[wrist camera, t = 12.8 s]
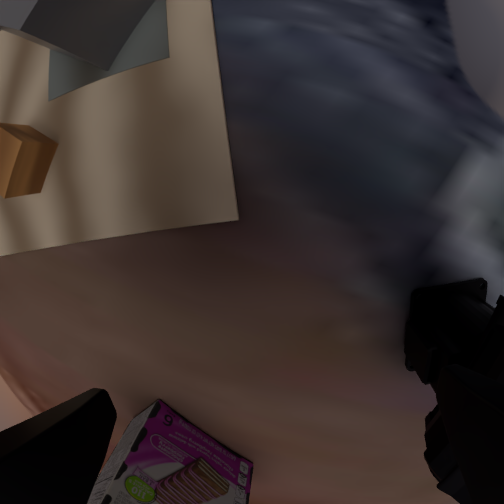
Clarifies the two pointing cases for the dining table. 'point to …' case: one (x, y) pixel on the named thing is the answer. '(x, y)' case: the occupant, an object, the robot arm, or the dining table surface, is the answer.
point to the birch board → (122, 133)
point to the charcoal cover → (75, 25)
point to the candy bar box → (171, 465)
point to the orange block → (23, 159)
